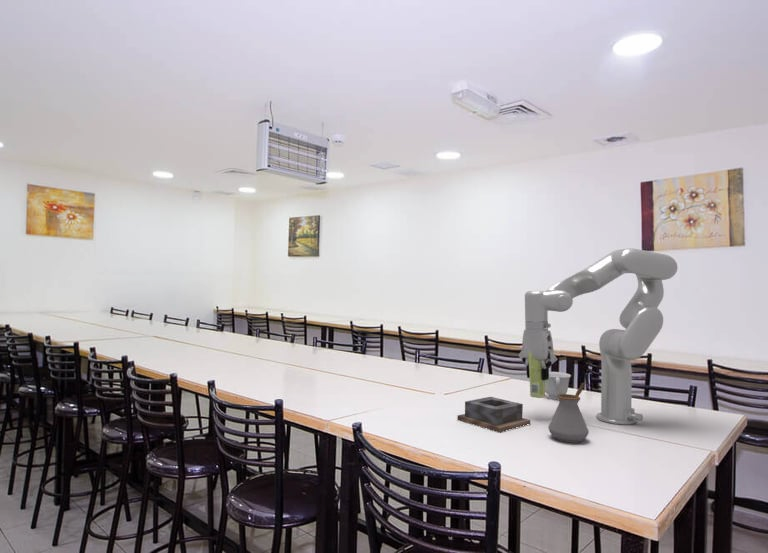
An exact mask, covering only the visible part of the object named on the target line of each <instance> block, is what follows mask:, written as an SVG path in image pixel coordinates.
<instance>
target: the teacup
mask: <svg viewBox="0 0 768 553" xmlns="http://www.w3.org/2000/svg"><path fill="white" fill-rule="evenodd" d="M571 377H572V375H571V374H570V373H566V372H559V371H549V379H548V380H546V381H545V394H547V395H548V398H549V399H550V398H551V399H550V400H555V399H559V398H558V397H557V395H559V394H568V389H569V383H570V378H571Z"/></svg>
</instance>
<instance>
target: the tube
mask: <svg viewBox="0 0 768 553" xmlns="http://www.w3.org/2000/svg"><path fill="white" fill-rule="evenodd" d="M528 360H529V375H530V378H529V396H530V397H531V398H536V399H542V398H545V397H546V392H545V381H546V380H542V375H541V369H542V368H543V366H542V363H541V360H538V359H534V358H533V356H532V355H531V353H530V351H529V349H528Z"/></svg>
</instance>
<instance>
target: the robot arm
mask: <svg viewBox="0 0 768 553" xmlns="http://www.w3.org/2000/svg"><path fill="white" fill-rule="evenodd" d="M677 271H678V263H677V261H676V260H675V259H674V257H672V256H671V255H668V254H665V253H658V252H654V251H649V250H644V249H638V248H632V247H629V248H622V249H615V250H613V251H611V252H610V253H608V254H606V255H605V256H603V257H601V258H600V259H598V260H597V261H595V262H594V263H592V264H590V265H589V266H587V267H585V268H584V269H582V270H580V271H578V272H575V274H573V275H571V276H569V277H567V278H564V279H563V280H561V281H559V282H558V283H555V285H553V286H551V287H550V288H548V289H547V290H545V291H544V290H529V291H526V292H525V294H524V323H525V324H524V330H523V333H522V334H523V335H522V344H521V346H522V347H521V351H520V352H519V353H518V354H517V355H518V357H519V358H520V360H522V362H523V363H524V366H525V367H526V378H528V379H530V375H529V360H528V349H529V351H530V353H531V355H532V356H533V358H534V359H538V360H541V363H542V366H543V368H542V369H541V375H542V380H548V379H549V372H550V368H551V367H552V365H553V364H554V363H555V362H556V361H558V358H557V356H556V355H555V353H554V342H553V337H552V332H551V330H550V329H549V328H551V326H552V325H551V323H549V322H548V321H549V319H548V318H549V317H548V312H549V311H550V312H559V313H562V312H567V311H569V309H571V308H572V306H573V304H574V300H573V299H574V298H576V297H579V296H582V295H585V294H589V293H593V292H596V291H598V290H600V289H602V288H604V287H605V286H606V285H608V284H610V283H611V282H613V281H614V280H617V279H618V278H619V277H621V276H623V275H624V274H635V277H636V279H637V288H636V291H635V292H634V294H633V296H632V297H631V299H630V300H629V301H628V302H627V304H626V306H625V307H624V308H623V310H622V311H621V312H620V315H619V323H620V326H622V327H623V328H624V329H625V330H624V329H620V328H611V329H608V330H605V331H604V332H603V333H602V334H601V336H600V337H599V342H598V343H599V352H600V361H601V378H600V380H601V382H600V386H601V388H600V390H601V394H600V395H601V396H600V397H601V398H600V400H601V403H600V406H601V408H600V412H597V413H596V414H595V415H596V416H595V417H596V419H597V420H599V421H601V422H604V423H607V424H615V425H625V426H626V425H627V426H628V425H634V424H636V423H637V421H639V422H643V421H644V420H643V419H644V416H643V414H642V413H636V412H635V408H633V407H632V387H633V386H632V383H633V382H632V377H633V375H632V374H633V371H632V363H631V361H635V360H638V359H640V358H641V357H642V356H643V355H644V354H645V353H646V352H647V351H648V349H649V347H650V346H651V344H652V343H653V342H654V341H655V339H656V337H657V336H658V335H659V333H660V332H661V329H662V328H663V325H664V315H663V313H662V311H661V310H660V309H659V308H658V307H659V306H660V304H661V303H662V301H663V298H664V296H665V294H664V293H665V290H664V289H665V288H664V284H663V281H665V280H669V279H671V278H673V277H674V276H675V275H676V274H677Z"/></svg>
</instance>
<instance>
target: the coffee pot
mask: <svg viewBox="0 0 768 553" xmlns="http://www.w3.org/2000/svg"><path fill="white" fill-rule="evenodd" d="M585 385H586V386H587V387H589V385H588V383H585V382H581V384H580V385H579V388H578V389H577V390H576V393H575V394H569V393H566V394H559V395H557V397H558V398H559V402H558V405H557V407H556V409H555V411H554V413H553V416H552V418H551V420H550V422H549V423H548V427H547V428H548V431H549V433H550V434H551V435H552V436H553V437H554V439H555V438H556V439H555V440H557V439H558V440H557V441H559V440H560V442H563V441H565V442H564V443H569V442H571V443H572V444H576V443H577V442H578V443H581V442H582V441H583V440H585V439H586V438H587V437H588V435H589V433H590V431H589V429H588V426H587V423H586V422H585V421H586V420H584V417H583V415H582V411H581V409H580V407H579V405H578V403H579V402H580V400H581V397H580V395H581V393H582V391H583V389H585Z"/></svg>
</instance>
